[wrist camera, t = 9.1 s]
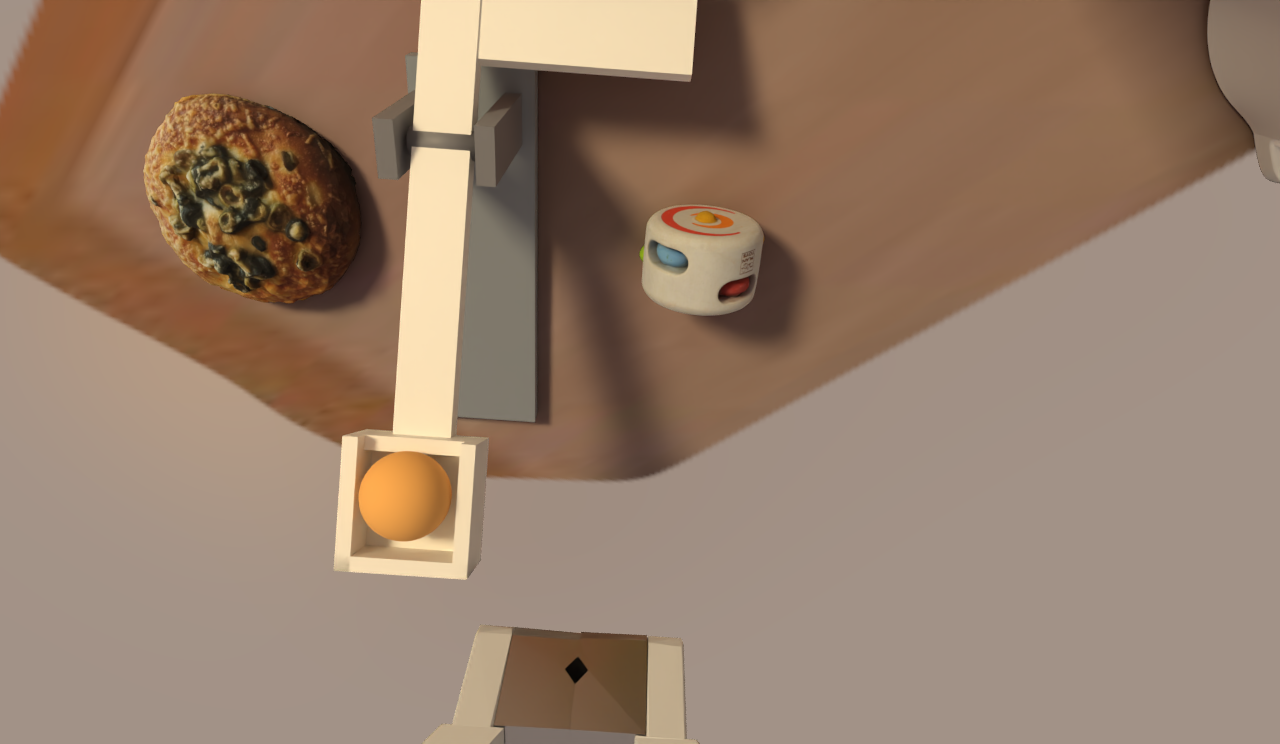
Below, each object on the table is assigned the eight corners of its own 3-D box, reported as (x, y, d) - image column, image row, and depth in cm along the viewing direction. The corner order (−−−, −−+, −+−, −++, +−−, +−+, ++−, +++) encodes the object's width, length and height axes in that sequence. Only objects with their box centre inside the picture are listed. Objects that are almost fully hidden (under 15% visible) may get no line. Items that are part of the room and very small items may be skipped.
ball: (464, 478, 32) (452, 438, 30) (449, 557, 31) (434, 523, 28) (381, 472, 32) (361, 431, 30) (361, 551, 31) (336, 516, 28)
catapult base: (411, 52, 36) (352, 82, 29) (537, 62, 36) (508, 94, 30) (438, 406, 46) (399, 490, 40) (537, 412, 47) (515, 497, 40)
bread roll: (412, 226, 41) (370, 266, 37) (285, 319, 45) (234, 364, 41) (254, 39, 37) (186, 60, 32) (132, 163, 41) (59, 195, 37)
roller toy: (644, 188, 39) (642, 226, 34) (767, 198, 40) (782, 238, 35) (638, 268, 42) (635, 315, 37) (753, 277, 42) (766, 325, 37)
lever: (399, -58, 32) (377, -99, 30) (698, -35, 33) (705, -73, 30) (359, 551, 33) (333, 570, 30) (654, 571, 33) (657, 592, 30)
